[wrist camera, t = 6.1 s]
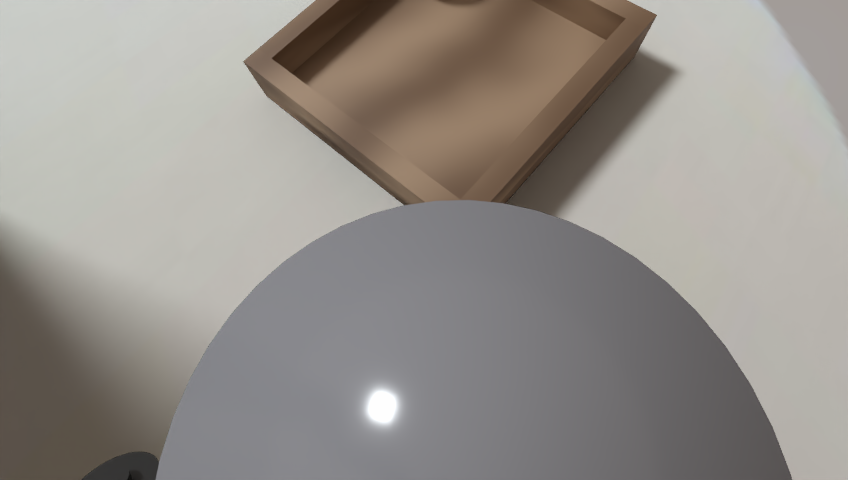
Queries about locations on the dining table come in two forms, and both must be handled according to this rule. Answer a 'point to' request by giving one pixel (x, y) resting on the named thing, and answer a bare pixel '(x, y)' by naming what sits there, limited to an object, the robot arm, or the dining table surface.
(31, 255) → the dining table surface
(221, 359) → the shaker
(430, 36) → the tray
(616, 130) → the dining table surface
